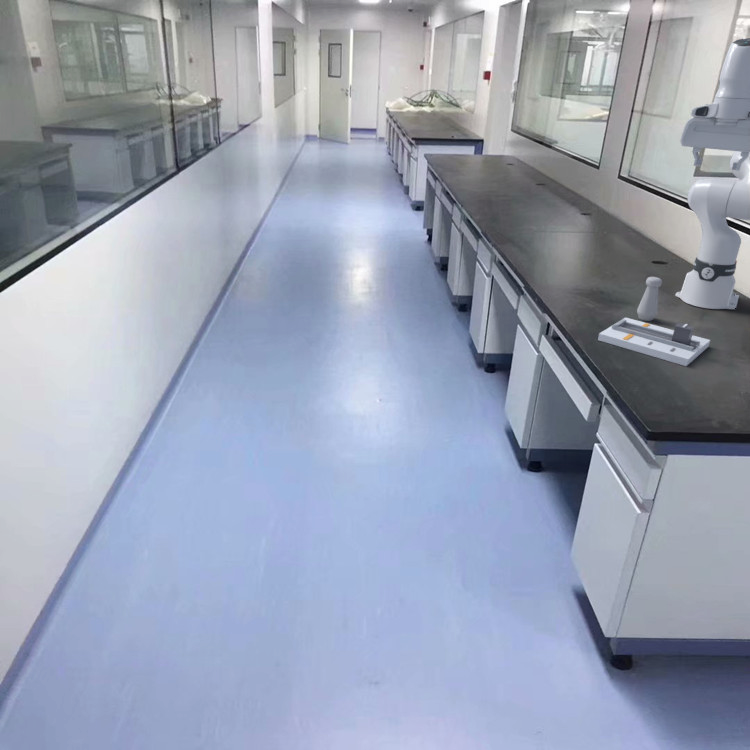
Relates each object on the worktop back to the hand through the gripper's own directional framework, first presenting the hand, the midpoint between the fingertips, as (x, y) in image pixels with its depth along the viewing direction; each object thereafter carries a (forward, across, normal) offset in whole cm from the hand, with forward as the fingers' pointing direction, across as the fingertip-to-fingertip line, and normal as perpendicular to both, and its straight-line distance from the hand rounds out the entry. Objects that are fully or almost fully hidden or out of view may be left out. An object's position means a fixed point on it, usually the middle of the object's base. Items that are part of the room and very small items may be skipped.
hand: (716, 168), depth 163 cm
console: (+46, +1, +15) cm, 48 cm away
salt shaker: (+46, +10, -3) cm, 47 cm away
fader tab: (+44, -6, +15) cm, 47 cm away
